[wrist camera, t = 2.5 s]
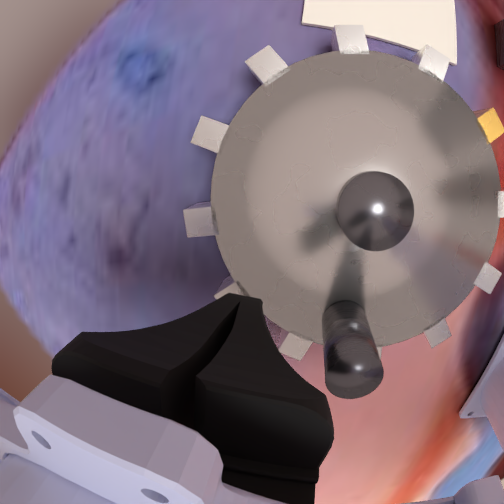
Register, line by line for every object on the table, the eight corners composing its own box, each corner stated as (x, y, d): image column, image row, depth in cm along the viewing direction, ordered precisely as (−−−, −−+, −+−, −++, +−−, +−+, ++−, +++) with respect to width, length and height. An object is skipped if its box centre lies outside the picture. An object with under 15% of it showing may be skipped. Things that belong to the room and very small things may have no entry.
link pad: (451, -6, 9) (453, -8, 9) (454, 65, 11) (456, 64, 11) (310, -44, 10) (310, -47, 10) (301, 24, 12) (301, 22, 11)
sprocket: (509, 99, 10) (582, 87, 4) (444, 357, 15) (480, 426, 9) (224, 25, 12) (180, -37, 6) (189, 315, 17) (141, 383, 11)
